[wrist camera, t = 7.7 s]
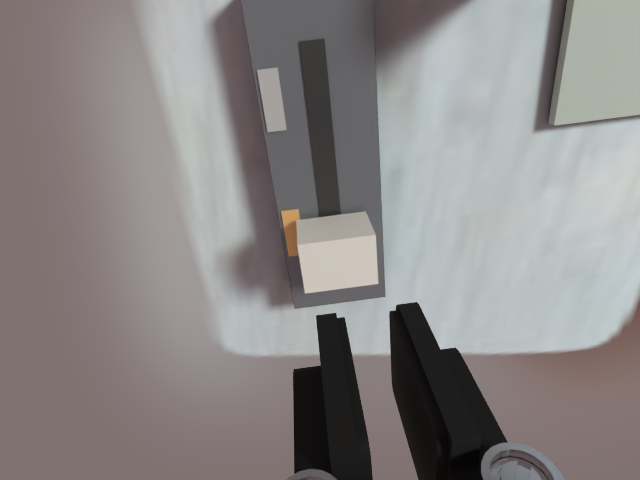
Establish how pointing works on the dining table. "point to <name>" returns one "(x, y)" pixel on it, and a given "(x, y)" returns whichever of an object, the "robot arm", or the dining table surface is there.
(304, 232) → the switch tab
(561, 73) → the mat
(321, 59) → the switch board
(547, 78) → the dining table surface
